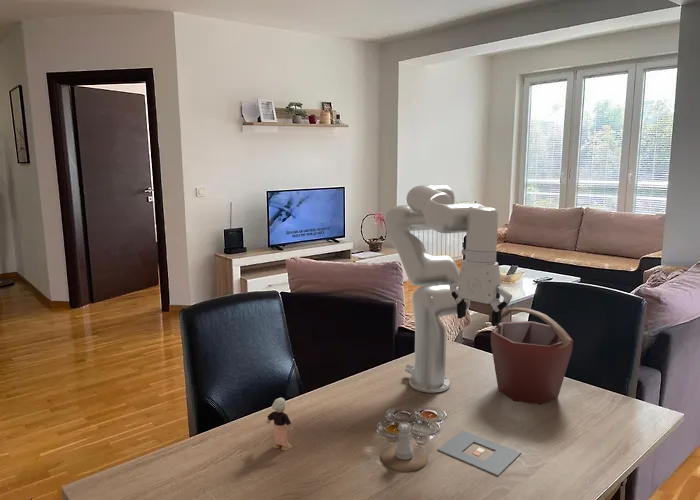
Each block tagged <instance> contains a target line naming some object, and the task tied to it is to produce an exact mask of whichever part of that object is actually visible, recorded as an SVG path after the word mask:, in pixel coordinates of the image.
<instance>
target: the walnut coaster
mask: <svg viewBox="0 0 700 500" xmlns="http://www.w3.org/2000/svg"><path fill="white" fill-rule="evenodd" d="M397 444H398V443H395V444H391V445H388V446H386V447H385V448H383V450H382V451H381V453H380V459H381V462H382V463H383V464H384V465H385V466H386V467H388V468H389V469H391V470H394V471H398V472H404V473H405V472H408V473H409V472H415V471H420V470H421V469H423V468H424V467H425V466H426V465H427V464H428V461H429V460H428V459H429V458H428V453H427V451H425V450H424V449H423V448H421V447H420V446H417V445H415V444H411V446H412V448H413V454H414V455H413V457H412V458H411V459H409V460H401V459H399V458H397V457H396V455H395V448H396V446H397Z"/></svg>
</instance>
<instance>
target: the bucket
mask: <svg viewBox="0 0 700 500" xmlns="http://www.w3.org/2000/svg"><path fill="white" fill-rule="evenodd" d="M512 312H522V313H526V314H530V315H533V316H535V317H537V318H539V319H540V320H542V321H543V322H544V323H545V324H544V323H541V322H537V321H531V320H530V321H529V320H528V321H509V322H506V321H505V322H502V321H501V322H500V323H499V325H497V326H495V328H493V329H492V331H490V346H491V352H492V353H491V354H492V359H493V366H494V371H495V378H496V384H497V389H498V391H499V392H500V393H501V394H503V395H504V396H506V397H507V398H508V399H510V400H512V401H513V402H516V403H517V402H519V403H525V404H533V405H540V406H541V405H544V404H547V403H549V402H552V401H554V400H557V399H558V398H559V394H560V392H561V388H562V386H563V382H564V379H565V374H566V373H567V372H566V371H567V368H568V366H569V363H570V358H571V356H572V352H573V346H574V340H573V338H572V337H571V336H570V334H568V332H567V331H566V330H565V329H564V328H563V327H562V326H561V325H560V324H559V323H558V322H557V321H555V320H554V319H552V318H551V317H549V316H548V315H547V314H546V313H542V312H541V311H537V310H534V309H532V308H526V307H510V308H506V309H505V310H504V311H503V312H501V319H503V318H505V317H507V316H509V315H510V314H511V313H512Z"/></svg>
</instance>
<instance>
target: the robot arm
mask: <svg viewBox="0 0 700 500" xmlns="http://www.w3.org/2000/svg"><path fill="white" fill-rule="evenodd" d="M455 198H456V197H455V194H454V191H453V190H452V188H450V186H448V185H445V184H423V185H422V184H421V185H417V186H414V187H412V188H411V189H410V190H408V193H407V195H406V203H407V204H402V205H396V206H394V207H391V208H389V209H388V210H387V211H386V212H385V218H384V227H385V231H386V234H387V237H388V239H389V241H390V242H391V244H392V245H393V247H394V249H395V250H396V252H397V254H398V255H399V258H400V260H401V263H402V266H403V269H404V271H405V274H406V276H407V279H408V281H409V282H410V284H411V285H412V286H414V287H418V288H417V289H415V291H414V292H413V294H412V300H411V301H412V307H413V314H414V315H413V316H414V326H415V327H414V365H413V364H411V363H407V365H405V369H404V372H405V373H407V374H410V375H411V376H410V377H409V380H408V384H409V386H410V388H412V389H414V390H415V391H419V392H422V393H429V394H434V393H441V392H444V391H446V390H448V389H450V387H451V381H450V379H449V378H448V377H447V376H446V366H447V365H446V364H447V363H446V360H447V329H446V326H445V324H444V323H443V322H442V320H441V319H440V318H441V317H445V316H452V315H453V316H454V315H457V319H459V320H460V319H462V318H463V319H464V317H466V316H467V311H468V309H469V307H470V305H471V301H472V302H476V303H481V304H486V305H487V304H490V306H491V307H492V309H493V310H492V311H491V320H490V321H491V323H490V324H491V325H490V326H491V327H495V328H496V326H497V325H499V323H500V322H501V323H502V321H501V320H502V318H501V313H502V310H503V309H504V308H506V307H507V306H508V305H509V303H510V301H511V300H512V298H513V295H512V294H511V293H509V292H508V291H507V290H505V289H504V288H503V287H501V284H502V283H501V272H500V267H499V262H497V251H498V250H497V245H498V229H499V227H498V226H499V212H498V210H497V208H495V207H494V208H493V207H490V206H485V205H482V204H481V203H455V201H456V200H455ZM430 230H433V231H435V232H437V233H440V234H458V233H466V236H465V239H466V240H465V241H466V242H465V248H462V250H461V255H463V256H464V258H465V259H463V260H462V261H461V265H460V268H459V267H458V265H457V263H456V261H455V259H453V258H452V257H451V256H449V255H447V254H435V255H432V254H429V253H428V252H427V249H426V247H425V245H424V243H423V242H422V240H420V238H418V237H417V236H416V235H414V234H413V233H411V232H415V231H416V232H417V231H430ZM501 297H503V300H502V302H501V301H500V298H501Z"/></svg>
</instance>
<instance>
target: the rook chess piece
mask: <svg viewBox="0 0 700 500" xmlns="http://www.w3.org/2000/svg"><path fill="white" fill-rule="evenodd" d="M397 430H398V431H399V432H398V437H399V438H398V443H396V444H397V446H396V448H395V455H396V457H397V458H399V459H401V460H409V459H411V458H412V457H413V455H414V454H413V448H412V446H411V445H412V444H411V441H410V440H411V439H410V436H411V430H412V426H411V424H410V423H409V422H407V421H403V422H399V424H398V426H397Z"/></svg>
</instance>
